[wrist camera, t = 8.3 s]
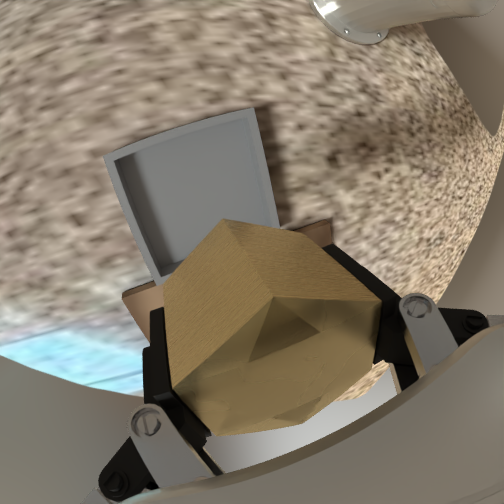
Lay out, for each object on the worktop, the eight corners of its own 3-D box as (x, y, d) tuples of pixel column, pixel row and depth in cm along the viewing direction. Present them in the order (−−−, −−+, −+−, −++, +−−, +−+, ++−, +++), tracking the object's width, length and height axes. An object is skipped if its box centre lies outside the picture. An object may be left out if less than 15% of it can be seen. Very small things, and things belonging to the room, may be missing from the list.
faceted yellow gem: (145, 246, 9) (138, 344, 5) (297, 194, 10) (385, 248, 6) (205, 363, 13) (230, 449, 9) (314, 320, 14) (366, 390, 9)
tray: (244, 109, 25) (253, 107, 22) (272, 230, 32) (282, 240, 29) (109, 153, 22) (102, 156, 20) (156, 271, 29) (156, 286, 27)
